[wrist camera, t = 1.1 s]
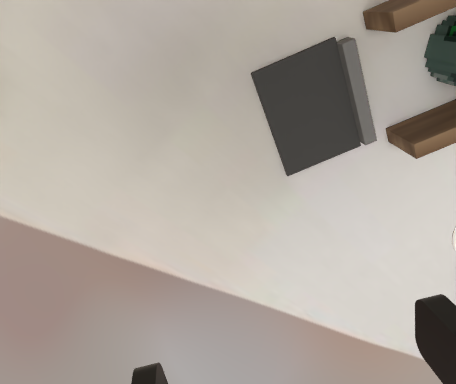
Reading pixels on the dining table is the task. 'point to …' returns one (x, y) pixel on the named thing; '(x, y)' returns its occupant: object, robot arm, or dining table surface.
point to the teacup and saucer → (454, 239)
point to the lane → (433, 119)
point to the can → (443, 52)
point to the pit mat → (316, 103)
